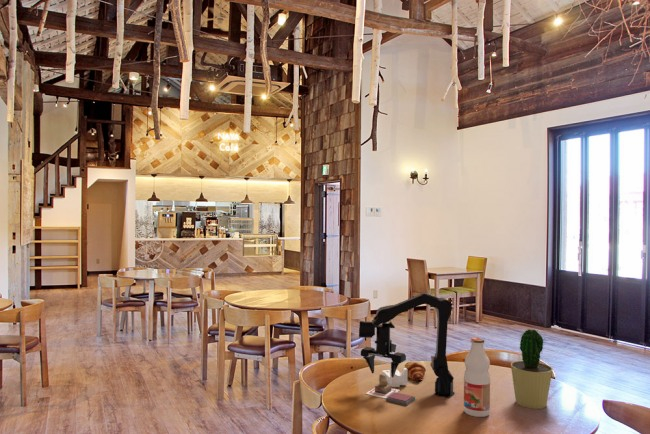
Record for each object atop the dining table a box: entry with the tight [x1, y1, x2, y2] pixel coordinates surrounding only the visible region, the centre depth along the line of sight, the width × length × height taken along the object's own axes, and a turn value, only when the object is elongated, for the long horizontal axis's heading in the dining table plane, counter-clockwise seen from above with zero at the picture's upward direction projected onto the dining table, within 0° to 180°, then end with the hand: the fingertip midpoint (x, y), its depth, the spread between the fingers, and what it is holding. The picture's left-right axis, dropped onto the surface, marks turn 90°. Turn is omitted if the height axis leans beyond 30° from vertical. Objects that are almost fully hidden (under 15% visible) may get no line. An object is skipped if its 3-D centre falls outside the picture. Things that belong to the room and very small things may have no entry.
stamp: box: [374, 373, 392, 395], centre depth 210 cm, size 5×5×7 cm
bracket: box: [381, 367, 408, 388], centre depth 224 cm, size 13×7×8 cm, turn 12°
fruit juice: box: [463, 336, 491, 418], centre depth 189 cm, size 9×9×28 cm
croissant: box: [403, 361, 427, 381], centre depth 233 cm, size 21×10×8 cm, turn 2°
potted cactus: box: [510, 328, 553, 410], centre depth 199 cm, size 15×15×30 cm
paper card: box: [365, 387, 401, 400], centre depth 210 cm, size 10×12×1 cm
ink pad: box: [385, 392, 416, 407], centre depth 201 cm, size 9×8×2 cm
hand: (382, 375), depth 210 cm, fingers open, 9 cm apart
